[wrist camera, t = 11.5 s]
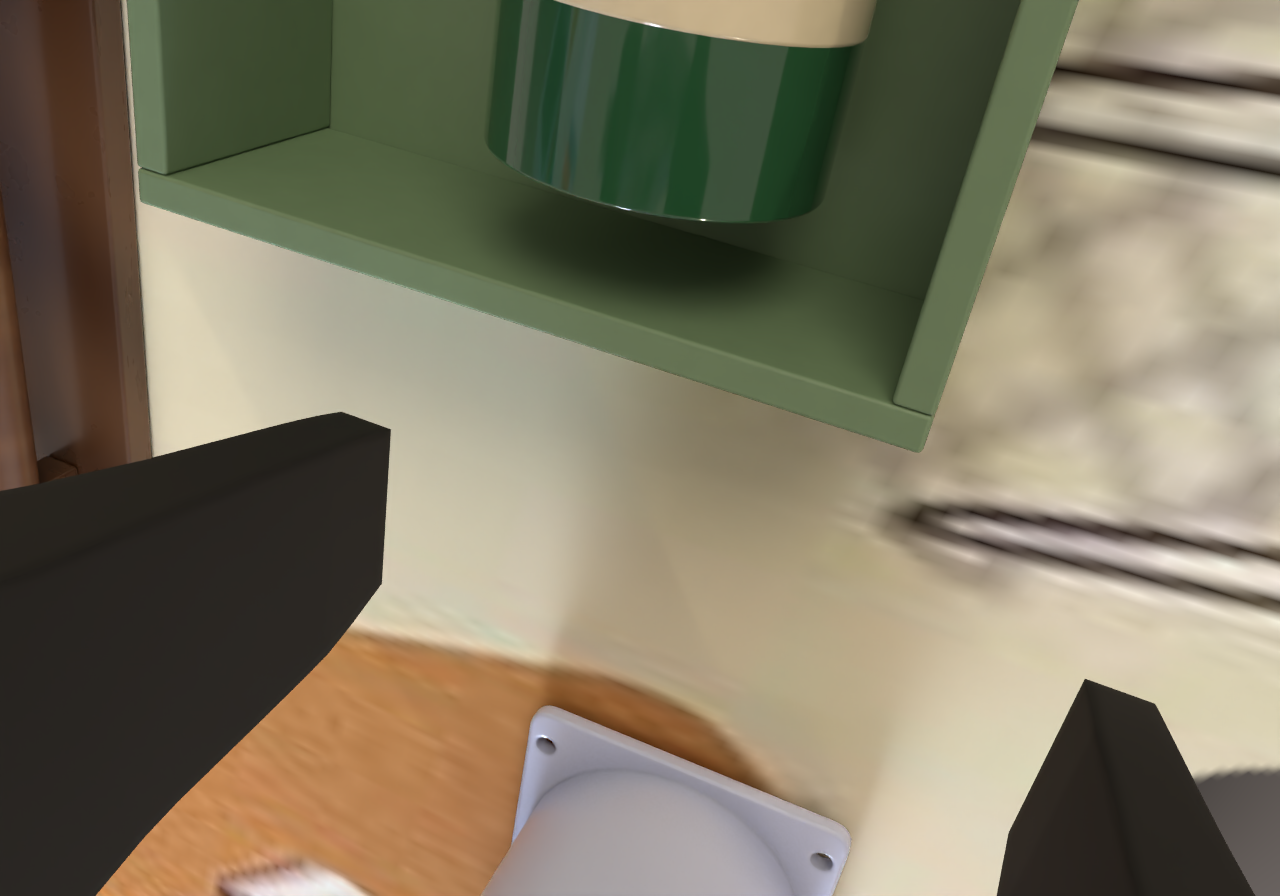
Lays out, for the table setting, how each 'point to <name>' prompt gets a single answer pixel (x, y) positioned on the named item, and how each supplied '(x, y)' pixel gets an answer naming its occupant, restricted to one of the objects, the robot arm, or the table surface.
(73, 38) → the rack
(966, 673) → the table surface
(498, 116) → the bottle
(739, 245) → the basket
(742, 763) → the table surface
